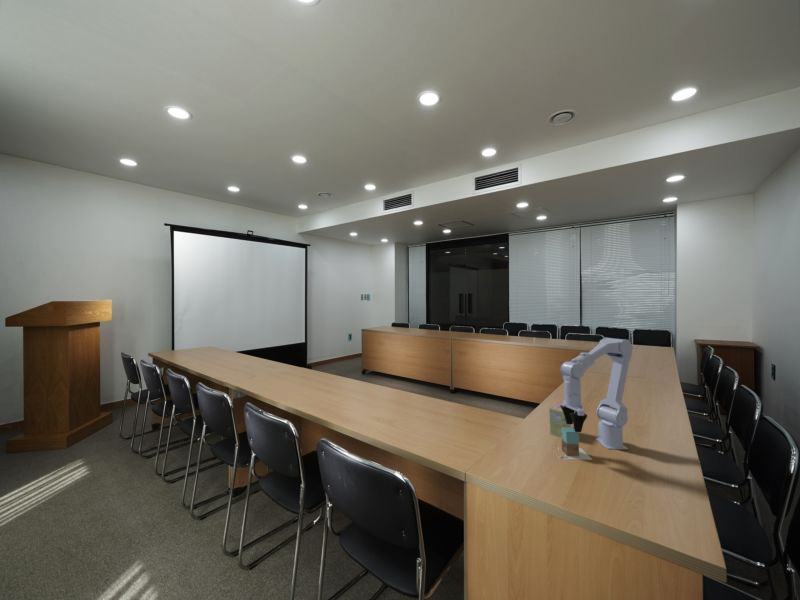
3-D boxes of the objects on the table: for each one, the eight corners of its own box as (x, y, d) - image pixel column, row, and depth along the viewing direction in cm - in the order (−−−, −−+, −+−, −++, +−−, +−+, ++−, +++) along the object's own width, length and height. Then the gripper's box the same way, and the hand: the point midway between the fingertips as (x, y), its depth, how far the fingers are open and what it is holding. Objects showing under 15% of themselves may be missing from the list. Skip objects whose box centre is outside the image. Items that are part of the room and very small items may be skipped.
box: (558, 428, 152) (557, 403, 152) (571, 431, 148) (570, 405, 148) (549, 435, 145) (548, 408, 145) (562, 438, 141) (562, 411, 141)
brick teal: (561, 438, 129) (561, 427, 129) (573, 438, 129) (573, 427, 129) (566, 443, 125) (566, 431, 125) (579, 444, 124) (578, 432, 124)
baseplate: (549, 447, 132) (549, 446, 132) (580, 448, 131) (580, 447, 131) (559, 459, 122) (559, 458, 122) (592, 460, 121) (592, 459, 121)
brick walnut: (561, 450, 129) (561, 438, 129) (573, 450, 129) (573, 438, 129) (566, 455, 125) (566, 443, 125) (579, 456, 124) (578, 444, 124)
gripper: (554, 388, 134) (555, 420, 134) (569, 398, 119) (570, 435, 119) (572, 388, 133) (573, 420, 133) (589, 398, 119) (590, 435, 119)
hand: (573, 427), depth 126 cm, fingers open, 7 cm apart
